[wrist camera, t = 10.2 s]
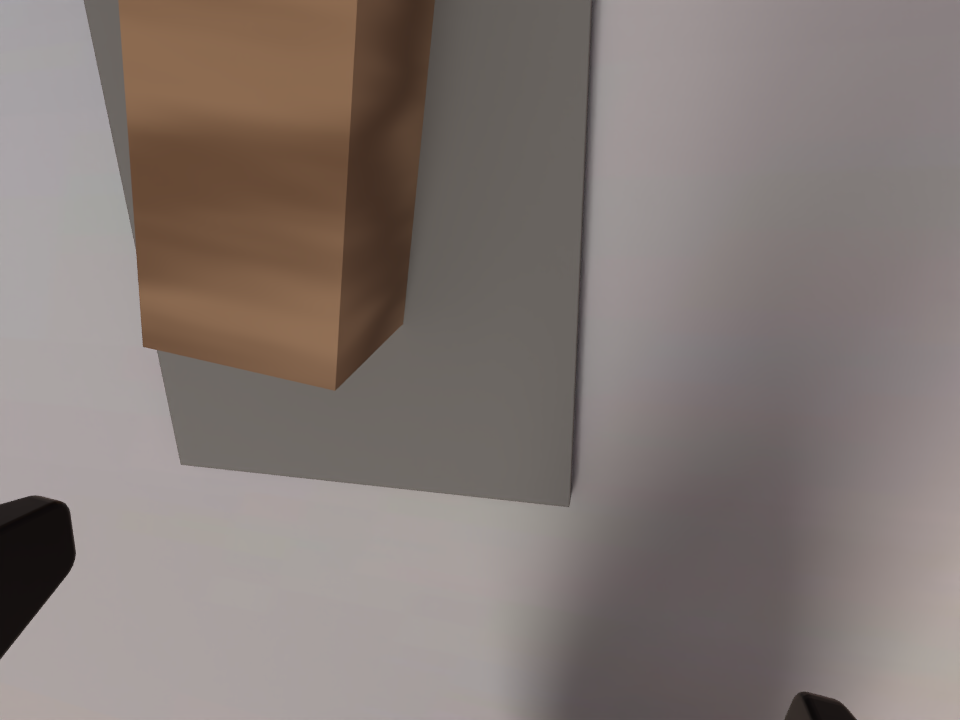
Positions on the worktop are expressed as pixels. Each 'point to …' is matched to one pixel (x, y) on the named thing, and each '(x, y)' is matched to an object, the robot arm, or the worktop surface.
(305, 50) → the walnut block
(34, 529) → the robot arm
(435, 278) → the slate mat
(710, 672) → the worktop surface
